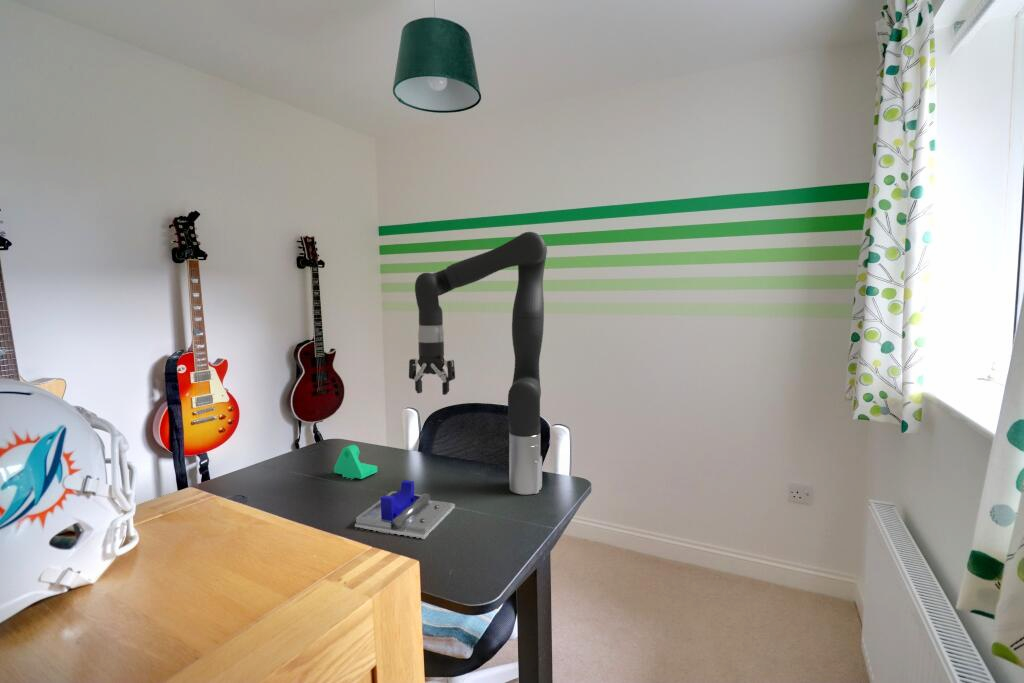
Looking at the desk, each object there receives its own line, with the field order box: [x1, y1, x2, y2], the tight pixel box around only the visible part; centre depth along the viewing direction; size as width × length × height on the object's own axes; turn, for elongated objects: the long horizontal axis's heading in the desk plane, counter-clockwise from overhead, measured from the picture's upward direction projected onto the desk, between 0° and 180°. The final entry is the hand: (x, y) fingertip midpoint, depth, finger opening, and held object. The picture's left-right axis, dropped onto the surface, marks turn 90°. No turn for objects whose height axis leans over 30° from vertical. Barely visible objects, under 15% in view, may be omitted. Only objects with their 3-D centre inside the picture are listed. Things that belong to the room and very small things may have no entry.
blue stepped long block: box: [380, 479, 415, 521], centre depth 125 cm, size 12×4×6 cm, turn 164°
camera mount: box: [333, 444, 378, 480], centre depth 153 cm, size 12×8×10 cm, turn 62°
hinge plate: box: [354, 490, 456, 540], centre depth 124 cm, size 19×18×3 cm
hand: (432, 393), depth 144 cm, fingers open, 8 cm apart
